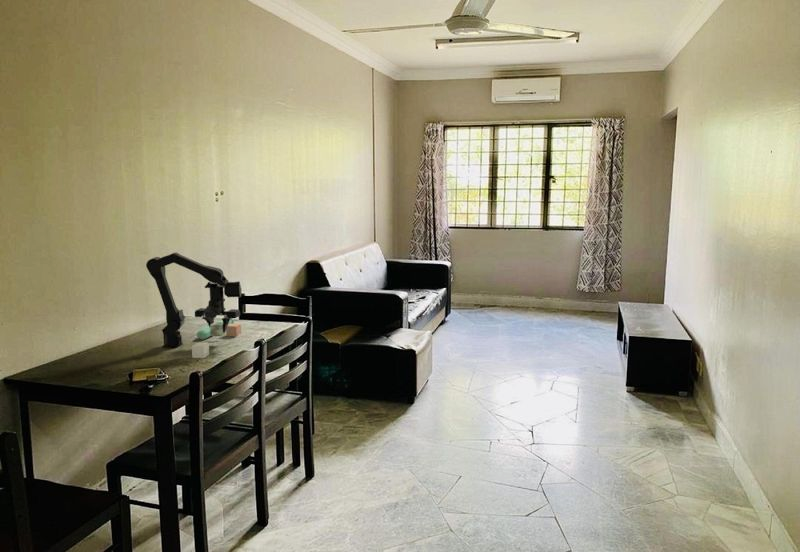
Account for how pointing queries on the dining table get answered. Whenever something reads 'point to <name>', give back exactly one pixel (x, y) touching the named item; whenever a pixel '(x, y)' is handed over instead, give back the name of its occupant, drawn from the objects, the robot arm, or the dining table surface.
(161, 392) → the dining table surface
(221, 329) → the sage block
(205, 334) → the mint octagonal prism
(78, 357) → the dining table surface
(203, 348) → the off white block
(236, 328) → the terracotta block
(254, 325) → the dining table surface
